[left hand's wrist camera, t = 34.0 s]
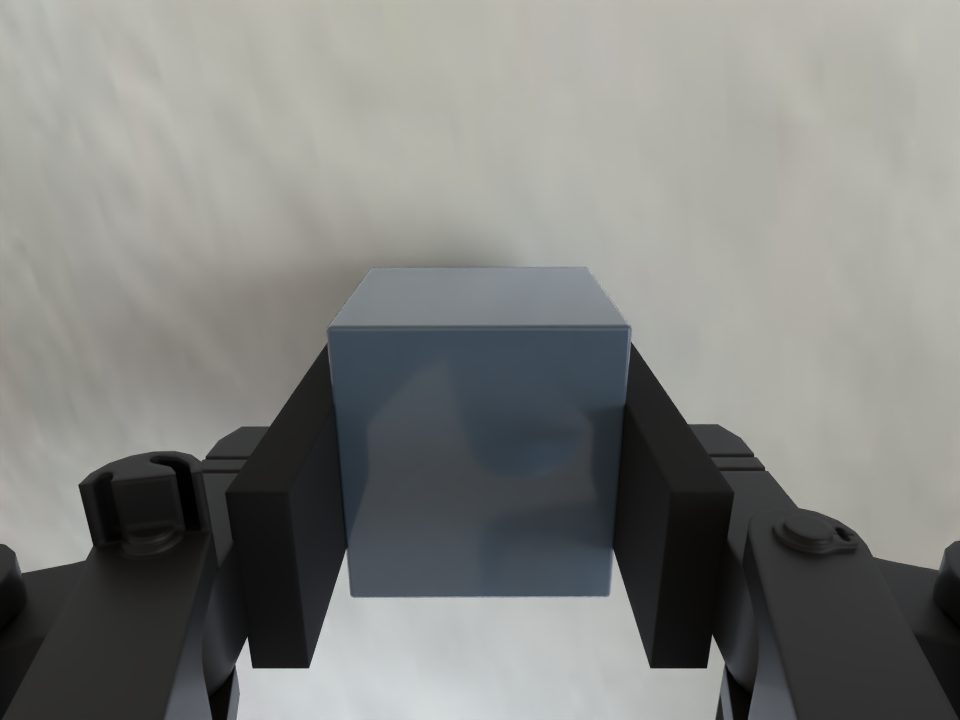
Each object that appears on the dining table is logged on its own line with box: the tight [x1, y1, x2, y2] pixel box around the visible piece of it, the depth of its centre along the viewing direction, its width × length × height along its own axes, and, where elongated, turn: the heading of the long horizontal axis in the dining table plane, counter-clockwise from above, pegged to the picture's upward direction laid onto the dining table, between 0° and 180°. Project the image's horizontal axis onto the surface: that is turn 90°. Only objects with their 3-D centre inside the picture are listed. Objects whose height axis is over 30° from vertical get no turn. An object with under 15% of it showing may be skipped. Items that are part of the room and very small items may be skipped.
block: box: [326, 267, 632, 598], centre depth 12 cm, size 5×5×4 cm
